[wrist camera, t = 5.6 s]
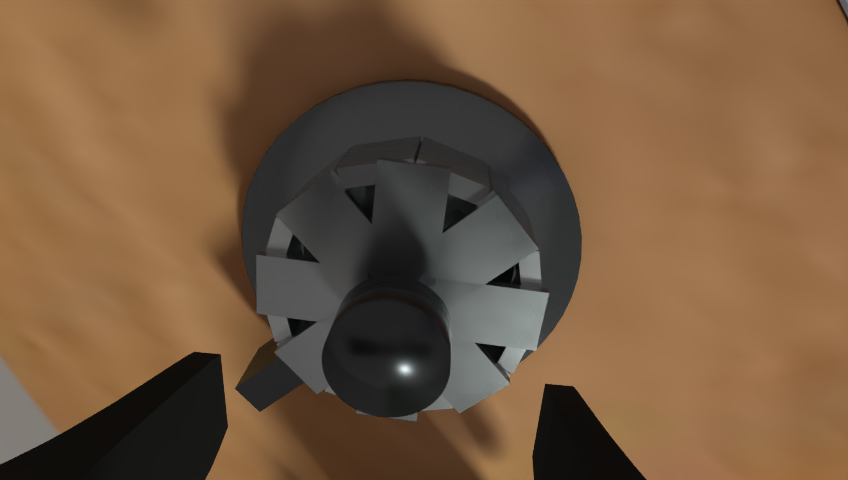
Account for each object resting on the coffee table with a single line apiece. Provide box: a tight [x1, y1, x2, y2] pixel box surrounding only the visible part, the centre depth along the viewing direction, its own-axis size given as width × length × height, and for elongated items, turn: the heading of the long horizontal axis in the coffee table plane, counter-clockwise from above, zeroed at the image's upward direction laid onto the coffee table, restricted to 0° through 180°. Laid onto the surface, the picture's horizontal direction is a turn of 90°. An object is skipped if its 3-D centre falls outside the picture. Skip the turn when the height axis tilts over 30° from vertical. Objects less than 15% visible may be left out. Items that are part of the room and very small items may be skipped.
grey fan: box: [235, 79, 582, 421], centre depth 19 cm, size 13×12×4 cm
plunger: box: [322, 275, 452, 418], centre depth 17 cm, size 3×3×6 cm
